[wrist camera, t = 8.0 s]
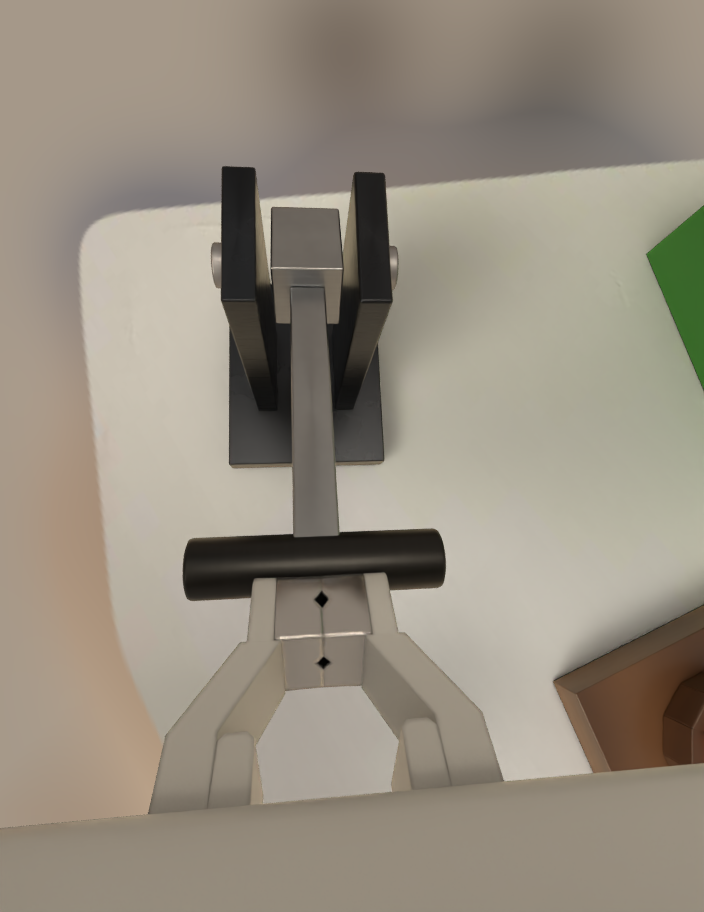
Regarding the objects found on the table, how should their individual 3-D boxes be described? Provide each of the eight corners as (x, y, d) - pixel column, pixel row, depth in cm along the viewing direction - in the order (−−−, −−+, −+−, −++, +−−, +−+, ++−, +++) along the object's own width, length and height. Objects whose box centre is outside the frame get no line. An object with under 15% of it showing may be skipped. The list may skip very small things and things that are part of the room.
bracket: (380, 464, 26) (450, 392, 14) (232, 468, 26) (163, 395, 13) (371, 296, 28) (426, 97, 16) (232, 294, 27) (171, 83, 15)
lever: (431, 596, 13) (456, 575, 11) (197, 609, 12) (173, 590, 10) (385, 267, 18) (395, 209, 16) (222, 264, 17) (210, 204, 15)
